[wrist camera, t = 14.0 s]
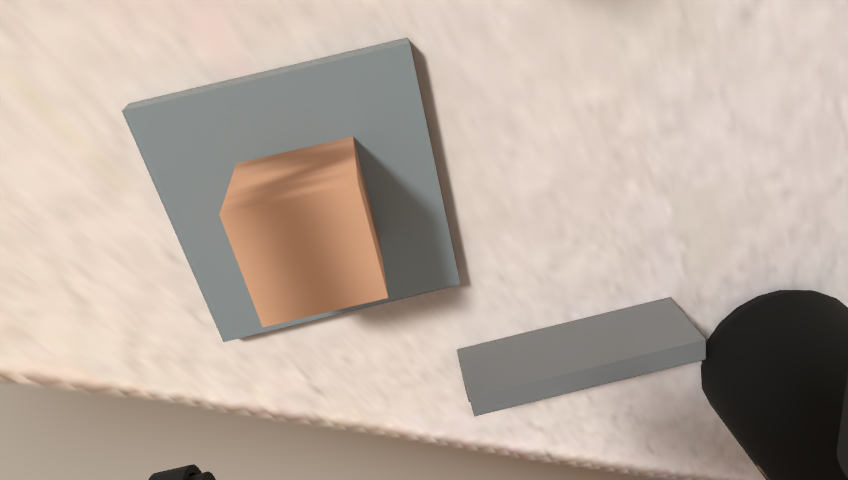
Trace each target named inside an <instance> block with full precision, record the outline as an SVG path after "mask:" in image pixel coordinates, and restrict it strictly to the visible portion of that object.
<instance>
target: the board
mask: <svg viewBox="0 0 848 480" xmlns="http://www.w3.org/2000/svg"><path fill="white" fill-rule="evenodd" d="M122 112H123V115H124V117H125V119H126V121H127V124H128V126H129V128H130V131H131V133H132V135H133V137H134V140H135V142H136V144H137V146H138V149H139V151H140V153H141V156H142V158H143V160H144V162H145V165H146V167H147V169H148V171H149V174H150V176H151V178H152V181H153V183H154V185H155V187H156V190H157V192H158V194H159V196H160V199H161V201H162V203H163V206H164V208H165V210H166V212H167V215H168V217H169V219H170V221H171V224H172V226H173V228H174V231H175V233H176V235H177V237H178V240H179V242H180V244H181V246H182V249H183V251H184V253H185V256H186V258H187V260H188V262H189V265H190V267H191V269H192V272H193V274H194V276H195V278H196V281H197V283H198V285H199V287H200V290H201V292H202V294H203V297H204V299H205V301H206V303H207V306H208V308H209V310H210V312H211V315H212V317H213V319H214V322H215V324H216V326H217V328H218V331H219V333H220V335H221V337H222V340H223V342H226V341H230V340H234V339H238V338H243V337H247V336H251V335H255V334H259V333H263V332H267V331H271V330H275V329H279V328H284V327H288V326H292V325H296V324H300V323H304V322H308V321H312V320H316V319H320V318H325V317H329V316H333V315H337V314H341V313H345V312H349V311H353V310H357V309H361V308H366V307H370V306H374V305H378V304H382V303H386V302H390V301H394V300H398V299H402V298H407V297H411V296H415V295H419V294H423V293H427V292H431V291H435V290H439V289H443V288H447V287H452V286H456V285H460V280H459V275H458V271H457V266H456V261H455V256H454V251H453V247H452V242H451V237H450V232H449V228H448V223H447V218H446V213H445V209H444V204H443V199H442V194H441V190H440V185H439V180H438V175H437V170H436V166H435V161H434V156H433V151H432V147H431V142H430V137H429V132H428V128H427V123H426V118H425V113H424V109H423V104H422V99H421V94H420V89H419V85H418V80H417V75H416V70H415V66H414V61H413V56H412V51H411V47H410V42H409V41H408V39H407V38H404V39H400V40H396V41H391V42H387V43H383V44H379V45H375V46H370V47H366V48H362V49H358V50H354V51H349V52H345V53H341V54H337V55H332V56H328V57H324V58H320V59H316V60H311V61H307V62H303V63H299V64H294V65H290V66H286V67H282V68H278V69H273V70H269V71H265V72H261V73H257V74H252V75H248V76H244V77H240V78H235V79H231V80H227V81H223V82H219V83H214V84H210V85H206V86H202V87H197V88H193V89H189V90H185V91H181V92H176V93H172V94H168V95H164V96H160V97H155V98H151V99H147V100H143V101H138V102H134V103H130V104H128V105H127V106H126V107H125V108H124V109H123V110H122ZM348 137H353V139H354V142H355V146H356V150H357V154H358V158H359V162H360V166H361V170H362V173H363V177H364V181H365V185H366V189H367V193H368V197H369V200H370V204H371V208H372V212H373V216H374V220H375V224H376V227H377V231H378V235H379V239H380V246H381V253H382V259H383V266H384V273H385V279H386V286H387V293H388V298H386V299H381V300H377V301H373V302H369V303H364V304H360V305H356V306H352V307H348V308H343V309H339V310H335V311H331V312H326V313H322V314H318V315H314V316H309V317H305V318H301V319H297V320H292V321H288V322H284V323H280V324H275V325H271V326H267V327H262V324H261V322H260V319H259V317H258V314H257V311H256V309H255V306H254V304H253V301H252V298H251V296H250V293H249V291H248V288H247V285H246V283H245V280H244V278H243V275H242V272H241V270H240V267H239V265H238V262H237V260H236V257H235V254H234V252H233V249H232V247H231V244H230V241H229V239H228V236H227V234H226V231H225V228H224V226H223V223H222V221H221V218H220V215H219V214H220V211H221V208H222V205H223V202H224V199H225V196H226V193H227V190H228V187H229V184H230V181H231V178H232V175H233V172H234V168H235V165H236V163H240V162H244V161H249V160H253V159H257V158H262V157H266V156H270V155H275V154H279V153H283V152H288V151H292V150H296V149H301V148H305V147H309V146H314V145H318V144H322V143H327V142H331V141H335V140H340V139H344V138H348Z"/></svg>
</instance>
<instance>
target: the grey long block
mask: <svg viewBox="0 0 848 480" xmlns="http://www.w3.org/2000/svg"><path fill="white" fill-rule="evenodd" d="M457 353H458V358H459V362H460V366H461V371H462V375H463V380H464V384H465V388H466V393H467V397H468V400H469V402H471V406H472V410H473V413H474V416H478V415H482V414H486V413H490V412H494V411H498V410H502V409H506V408H510V407H514V406H518V405H523V404H527V403H531V402H535V401H539V400H543V399H547V398H551V397H555V396H559V395H563V394H567V393H571V392H575V391H579V390H583V389H587V388H591V387H595V386H599V385H603V384H607V383H611V382H615V381H619V380H624V379H628V378H632V377H636V376H640V375H644V374H648V373H652V372H656V371H660V370H664V369H668V368H672V367H676V366H680V365H684V364H688V363H692V362H696V361H700V360H704V359H706V339H705V338H704V337H703V335H702V334H701V333H700V332H699V331H698V329H697V328H696V327H695V326H694V325H693V324H692V322H691V321H690V320H689V319H688V318H687V316H686V315H685V314H684V313H683V312H682V310H681V309H680V308H679V307H678V306H677V304H676V303H675V302H674V301H673V300H672V298H671V297H669V298H665V299H661V300H657V301H653V302H649V303H645V304H641V305H637V306H633V307H628V308H624V309H620V310H616V311H612V312H608V313H604V314H600V315H596V316H592V317H588V318H584V319H580V320H576V321H571V322H567V323H563V324H559V325H555V326H551V327H547V328H543V329H539V330H535V331H531V332H527V333H523V334H519V335H514V336H510V337H506V338H502V339H498V340H494V341H490V342H486V343H482V344H478V345H474V346H470V347H466V348H462V349H458V350H457Z"/></svg>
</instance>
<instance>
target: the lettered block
mask: <svg viewBox="0 0 848 480" xmlns="http://www.w3.org/2000/svg"><path fill="white" fill-rule="evenodd" d="M219 215H220V218H221V221H222V223H223V226H224V228H225V231H226V234H227V236H228V239H229V241H230V244H231V247H232V249H233V252H234V254H235V257H236V260H237V262H238V265H239V267H240V270H241V272H242V275H243V278H244V280H245V283H246V285H247V288H248V291H249V293H250V296H251V298H252V301H253V304H254V306H255V309H256V311H257V314H258V317H259V319H260V322H261V324H262V327H267V326H271V325H275V324H280V323H284V322H288V321H292V320H297V319H301V318H305V317H309V316H314V315H318V314H322V313H326V312H331V311H335V310H339V309H343V308H348V307H352V306H356V305H360V304H364V303H369V302H373V301H377V300H381V299H386V298H388V293H387V286H386V279H385V273H384V266H383V259H382V253H381V246H380V239H379V235H378V231H377V227H376V224H375V220H374V216H373V212H372V208H371V204H370V200H369V197H368V193H367V189H366V185H365V181H364V177H363V173H362V170H361V166H360V162H359V158H358V154H357V150H356V146H355V142H354V139H353V137H348V138H344V139H340V140H335V141H331V142H327V143H322V144H318V145H314V146H309V147H305V148H301V149H296V150H292V151H288V152H283V153H279V154H275V155H270V156H266V157H262V158H257V159H253V160H249V161H244V162H240V163H236V165H235V168H234V172H233V175H232V178H231V181H230V184H229V187H228V190H227V193H226V196H225V199H224V202H223V205H222V208H221V211H220V214H219Z"/></svg>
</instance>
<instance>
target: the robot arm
mask: <svg viewBox="0 0 848 480" xmlns="http://www.w3.org/2000/svg"><path fill="white" fill-rule="evenodd" d="M837 458H838V461H839V464H840V467H841V469H842V471H843V472H844V474H845V475H846V477H847V478H848V373H847V381H846V388H845V395H844V402H843V409H842V416H841V423H840V430H839V438H838V445H837ZM149 480H216V479H215V478H214V476H213V475H212V473H210V472H205V473H201V471H200V470H199V468H198V467H197V466H195V465H188V466H184V467H180V468H176V469H172V470H167V471H163V472H158V473H154V474H153V475H152V476H151V477H150V478H149Z"/></svg>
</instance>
